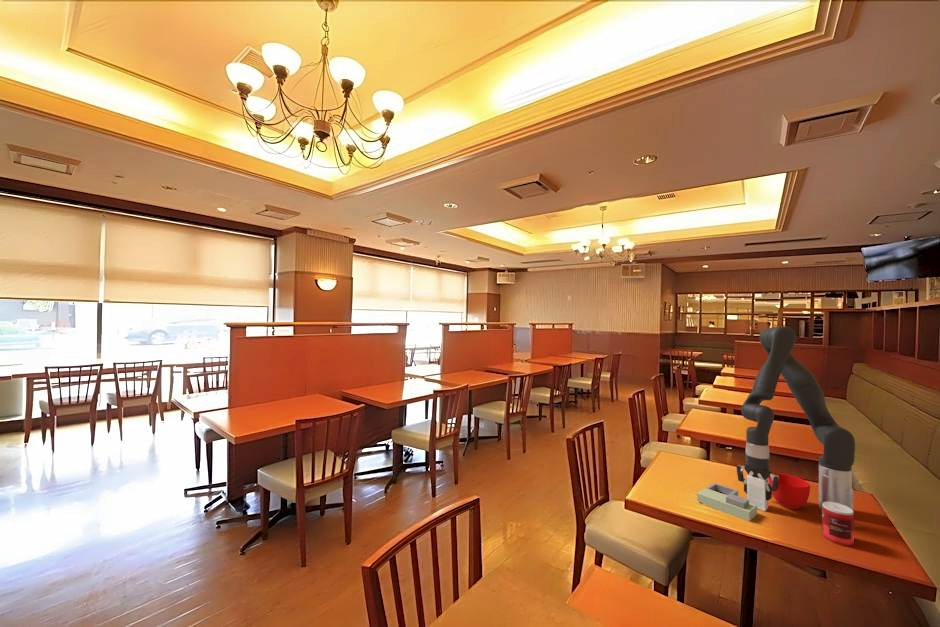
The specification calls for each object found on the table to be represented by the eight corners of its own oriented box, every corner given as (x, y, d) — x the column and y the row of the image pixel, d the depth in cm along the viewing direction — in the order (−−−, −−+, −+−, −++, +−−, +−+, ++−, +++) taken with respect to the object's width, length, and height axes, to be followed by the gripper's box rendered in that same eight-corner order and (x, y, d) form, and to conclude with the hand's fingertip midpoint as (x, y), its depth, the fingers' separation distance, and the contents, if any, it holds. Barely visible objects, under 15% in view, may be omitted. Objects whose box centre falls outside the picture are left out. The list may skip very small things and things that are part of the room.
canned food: (836, 532, 134) (836, 501, 134) (861, 546, 126) (861, 513, 126) (815, 532, 133) (815, 501, 133) (838, 546, 125) (838, 513, 125)
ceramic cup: (754, 492, 164) (754, 468, 164) (805, 502, 155) (805, 477, 155) (758, 505, 153) (758, 480, 153) (814, 516, 144) (814, 490, 144)
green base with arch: (765, 507, 151) (765, 493, 151) (749, 521, 141) (749, 506, 141) (714, 489, 166) (714, 477, 166) (695, 501, 156) (695, 488, 156)
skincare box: (768, 508, 150) (768, 477, 150) (765, 511, 148) (765, 480, 148) (749, 502, 155) (749, 472, 155) (746, 505, 152) (746, 475, 152)
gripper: (783, 457, 148) (783, 500, 148) (739, 447, 159) (740, 487, 159) (776, 462, 143) (776, 506, 143) (732, 451, 155) (732, 492, 155)
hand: (757, 496), depth 151 cm, fingers closed on skincare box, 6 cm apart
